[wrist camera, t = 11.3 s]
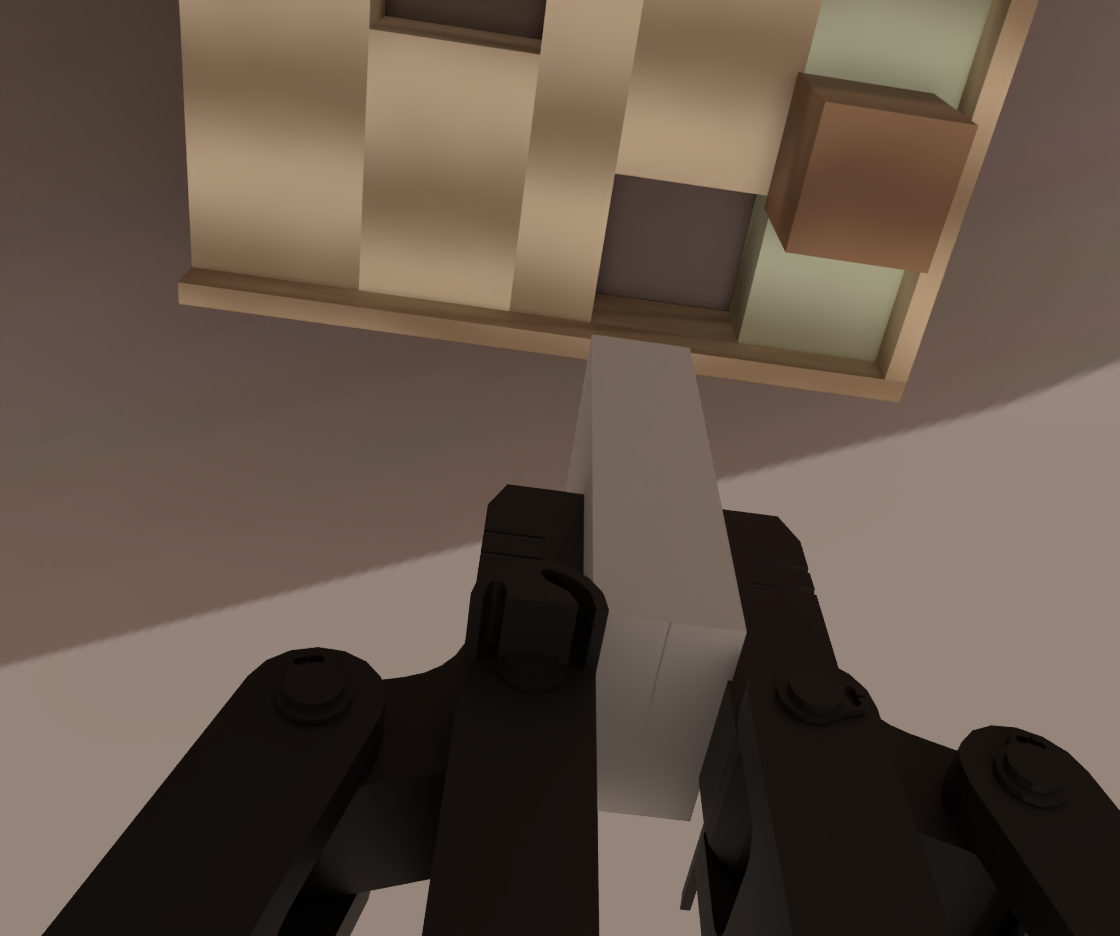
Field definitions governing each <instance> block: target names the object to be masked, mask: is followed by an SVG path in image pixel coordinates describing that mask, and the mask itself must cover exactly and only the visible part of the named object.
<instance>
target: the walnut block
mask: <svg viewBox="0 0 1120 936" xmlns="http://www.w3.org/2000/svg"><path fill="white" fill-rule="evenodd" d="M977 129H978V125H977V124H976V123H974V122H973V121H971V120H970V119H969V118H967V117H966V116H964V115H963V114H962V113H960V112H959V111H958V110H956V109H955V108H953V107H952V106H951V105H949V104H948V103H946V102H945V101H944V100H942V99H941V98H939V97H938V96H937V95H935V94H934V93H927V92H921V91H915V90H909V89H902V88H896V87H890V86H883V85H877V84H871V83H864V82H858V81H852V80H845V79H839V78H833V77H826V76H820V75H814V74H807V73H801V72H798V75H797V79H796V83H795V87H794V91H793V95H792V99H791V103H790V107H789V111H788V115H787V119H786V123H785V127H784V131H783V135H782V139H781V143H780V147H779V151H778V155H777V159H776V163H775V167H774V171H773V175H772V179H771V183H770V187H769V191H768V195H767V199H766V203H765V207H764V209H765V211H766V213H767V215H768V217H769V219H770V222H771V224H772V226H773V228H774V230H775V232H776V234H777V236H778V238H779V240H780V242H781V244H782V247H783V249H784V251H785V252H786V253H793V254H800V255H806V256H813V257H820V258H827V259H833V260H840V261H847V262H853V263H860V264H867V265H874V266H880V267H887V268H894V269H901V270H907V271H914V272H921V273H927V274H928V271H929V268H930V265H931V262H932V259H933V257H934V254H935V251H936V248H937V245H938V242H939V239H940V236H941V233H942V230H943V228H944V225H945V222H946V219H947V216H948V213H949V210H950V207H951V204H952V201H953V198H954V196H955V193H956V190H957V187H958V184H959V181H960V178H961V175H962V172H963V169H964V167H965V164H966V161H967V158H968V155H969V152H970V149H971V146H972V143H973V140H974V137H975V135H976V132H977Z"/></svg>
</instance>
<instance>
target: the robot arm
mask: <svg viewBox="0 0 1120 936" xmlns="http://www.w3.org/2000/svg"><path fill="white" fill-rule="evenodd" d="M814 590H815V589H814V586H813V582H812V579H811V576H810V573H808V566H807V563H806V559H805V556H804V552H803V549H802V546H801V543H800V541H799V540H798V539H797V537H796V536H795V535H794V534H793V533H792V532H791V531H790V530H789V529H788V527H787V526H786V525H785V524H784V523H783V522H782V521H781V520H780V519H779V517H777V516H770V515H761V514H754V513H746V512H739V511H731V510H724V509H722V506H721V501H720V496H719V491H718V486H717V481H716V476H715V471H714V466H713V461H712V456H711V451H710V446H709V441H708V436H707V431H706V426H705V421H704V416H703V411H702V406H701V401H700V396H699V391H698V386H697V381H696V376H695V371H694V366H693V361H692V356H691V351H690V348H688V347H681V346H674V345H666V344H659V343H652V342H644V341H637V340H630V339H623V338H615V337H608V336H601V335H593V334H592V335H591V341H590V347H589V353H588V359H587V365H586V371H585V377H584V383H583V389H582V395H581V401H580V407H579V413H578V419H577V425H576V431H575V437H574V443H573V449H572V455H571V461H570V467H569V473H568V479H567V485H566V492H563V491H555V490H547V489H540V488H532V487H524V486H516V485H509V484H507V485H506V486H505V487H504V489H503V490H502V491H501V492H500V493H499V494H498V495H497V496H496V497H495V498H494V499H493V500H492V501H491V502H490V503H489V504H488V508H487V515H486V522H485V528H484V535H483V541H482V548H481V555H480V562H479V568H478V574H477V581H476V584H475V586H474V588H473V590H472V592H471V597H470V606H469V614H468V624H467V631H466V640H465V644H464V645H463V646H462V648H461V649H460V650H459V651H458V653H457V654H456V655H455V656H454V657H453V658H451V659H450V660H448V661H447V662H446V663H444V664H443V665H441V666H439V667H437V668H434V669H432V670H430V671H427V672H425V673H421V674H416V675H412V676H407V677H400V678H393V679H384V680H382V679H381V677H380V676H379V675H378V674H377V672H376V671H375V670H374V669H373V668H372V667H371V666H370V665H369V664H368V663H367V662H366V661H364V660H362V659H360V658H358V657H356V656H353V655H351V654H349V653H347V652H345V651H339V650H334V649H326V648H320V647H315V648H307V649H299V650H291V651H288V652H285V653H283V654H281V655H278V656H276V657H273V658H271V659H268V660H266V661H265V662H264V663H262V664H261V665H260V666H259V667H258V668H257V669H255V670H254V671H253V672H252V673H251V674H249V675H248V676H247V678H246V679H245V680H244V681H243V683H242V684H241V685H240V687H239V688H238V689H237V690H236V691H235V693H234V694H233V695H232V697H231V698H230V699H229V700H228V702H227V703H226V704H225V705H224V707H223V708H222V709H221V710H220V712H219V713H218V714H217V715H216V717H215V718H214V719H213V720H212V722H211V723H210V724H209V726H208V727H207V728H206V729H205V731H204V732H203V733H202V734H201V736H200V737H199V738H198V739H197V741H196V742H195V743H194V744H193V746H192V747H191V748H190V749H189V751H188V752H187V753H186V754H185V756H184V757H183V758H182V760H181V761H180V762H179V763H178V765H177V766H176V767H175V768H174V770H173V771H172V772H171V773H170V775H169V776H168V777H167V779H166V780H165V781H164V782H163V784H162V785H161V786H160V787H159V788H158V790H157V791H156V792H155V793H154V795H153V796H152V797H151V799H150V800H149V801H148V802H147V804H146V805H145V806H144V807H143V809H142V810H141V811H140V812H139V814H138V815H137V816H136V817H135V819H134V820H133V821H132V822H131V824H130V825H129V826H128V827H127V829H126V830H125V831H124V833H123V834H122V835H121V836H120V838H119V839H118V840H117V842H116V843H115V844H114V845H113V846H112V848H111V849H110V850H109V851H108V853H107V854H106V855H105V856H104V858H103V859H102V860H101V861H100V863H99V864H98V865H97V867H96V868H95V869H94V870H93V872H92V873H91V874H90V875H89V877H88V878H87V879H86V880H85V882H84V883H83V884H82V885H81V887H80V888H79V889H78V890H77V892H76V893H75V894H74V895H73V897H72V898H71V899H70V901H69V902H68V903H67V904H66V906H65V907H64V908H63V909H62V911H61V912H60V913H59V915H58V916H57V917H56V918H55V920H54V921H53V922H52V923H51V925H50V926H49V927H48V928H47V930H46V931H45V932H44V933H43V935H42V936H350V935H351V932H352V931H353V929H354V927H355V925H356V923H357V921H358V919H359V916H360V915H361V912H362V911H363V908H364V907H365V904H366V903H367V901H368V898H369V894H370V891H371V890H376V889H381V888H387V887H392V886H397V885H402V884H407V883H412V882H417V881H422V880H428V879H430V885H429V892H428V898H427V905H426V912H425V918H424V925H423V933H422V936H599V891H598V890H599V888H598V812H597V811H605V812H613V813H622V814H631V815H640V816H648V817H657V818H666V819H675V820H684V821H690V819H691V816H692V813H693V809H694V806H695V803H696V799H697V796H698V792H699V789H700V794H701V802H702V811H703V819H704V824H703V827H702V831H701V834H700V837H699V840H698V843H697V847H696V850H695V853H694V856H693V859H692V862H691V866H690V869H689V872H688V876H687V879H686V882H685V885H684V888H683V892H682V899H681V906H680V909H681V910H690V909H691V906H692V903H693V900H694V897H695V894H696V891H697V895H698V905H699V915H700V925H701V935H702V936H1120V810H1119V809H1118V808H1117V807H1116V805H1115V804H1114V803H1113V802H1112V801H1111V799H1110V798H1109V797H1108V795H1107V794H1106V793H1105V792H1104V791H1103V789H1102V788H1101V787H1100V786H1099V784H1098V783H1097V782H1096V781H1095V780H1094V778H1093V777H1092V776H1091V775H1090V773H1089V772H1088V771H1087V770H1086V769H1085V768H1084V767H1083V766H1082V765H1081V764H1080V763H1078V761H1076V760H1075V759H1074V758H1073V757H1072V756H1071V755H1070V754H1069V753H1068V752H1067V751H1065V750H1063V749H1062V748H1060V747H1058V746H1057V745H1055V744H1053V743H1052V742H1050V741H1049V740H1047V739H1045V738H1044V737H1041V736H1039V735H1036V734H1033V733H1030V732H1027V731H1024V730H1021V729H1019V728H1015V727H1003V726H992V725H991V726H987V727H984V728H980V729H977V730H973V731H972V732H971V733H970V734H969V735H968V736H967V737H966V738H965V739H964V740H963V741H962V742H961V745H960V746H959V749H958V751H956V750H953V749H951V748H948V747H945V746H943V745H939V744H937V743H934V742H931V741H928V740H926V739H923V738H920V737H918V736H915V735H912V734H909V733H907V732H905V731H903V730H900V729H898V728H896V727H894V726H891V725H889V724H888V723H886V722H885V721H883V720H881V718H880V715H879V712H878V709H877V707H876V705H875V703H874V702H873V700H872V698H871V696H870V695H869V693H868V691H867V690H866V689H865V688H864V687H863V686H862V685H861V684H860V683H859V682H857V681H856V680H855V679H854V678H853V677H852V676H851V675H850V674H848V673H846V672H844V671H842V670H841V669H839V668H838V665H837V661H836V658H835V655H834V652H833V648H832V645H831V642H830V639H829V635H828V632H827V628H826V625H825V622H824V618H823V615H822V612H821V609H820V605H819V602H818V599H817V596H816V595H814Z"/></svg>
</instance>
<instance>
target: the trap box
mask: <svg viewBox="0 0 1120 936" xmlns="http://www.w3.org/2000/svg"><path fill="white" fill-rule="evenodd" d="M1038 2H1039V0H547V2H546V11H545V19H544V27H543V35H542V40H541V39H534V38H528V37H521V36H515V35H508V34H501V33H495V32H488V31H482V30H475V29H468V28H462V27H455V26H449V25H442V24H435V23H429V22H422V21H416V20H409V19H403V18H396V17H389V16H385V7H386V0H179V7H180V28H181V49H182V69H183V90H184V111H185V131H186V152H187V172H188V193H189V214H190V234H191V255H192V268H191V269H190V270H189V271H188V272H187V273H186V274H185V275H184V276H183V277H182V278H181V280H180V281H179V282H178V294H179V304H185V305H192V306H199V307H207V308H214V309H221V310H229V311H236V312H243V313H251V314H258V315H265V316H273V317H280V318H287V319H295V320H302V321H309V322H316V323H324V324H331V325H338V326H346V327H353V328H360V329H368V330H375V331H382V332H390V333H397V334H404V335H412V336H419V337H426V338H434V339H441V340H448V341H455V342H463V343H470V344H477V345H485V346H492V347H499V348H507V349H514V350H521V351H529V352H536V353H543V354H551V355H558V356H565V357H573V358H580V359H588V353H589V347H590V341H591V335H592V334H593V335H601V336H608V337H615V338H623V339H630V340H637V341H644V342H652V343H659V344H666V345H674V346H681V347H688V348H690V351H691V356H692V361H693V366H694V371H695V374H697V375H704V376H712V377H719V378H726V379H733V380H741V381H748V382H755V383H763V384H770V385H777V386H785V387H792V388H799V389H807V390H814V391H821V392H829V393H836V394H843V395H851V396H858V397H865V398H873V399H880V400H887V401H894V402H900V400H901V397H902V394H903V391H904V388H905V385H906V383H907V380H908V377H909V374H910V371H911V368H912V365H913V362H914V359H915V357H916V354H917V351H918V348H919V345H920V342H921V339H922V336H923V334H924V331H925V328H926V325H927V322H928V319H929V316H930V313H931V310H932V308H933V305H934V302H935V299H936V296H937V293H938V290H939V287H940V285H941V282H942V279H943V276H944V273H945V270H946V267H947V264H948V261H949V259H950V256H951V253H952V250H953V247H954V244H955V241H956V238H957V236H958V233H959V230H960V227H961V224H962V221H963V218H964V215H965V212H966V210H967V207H968V204H969V201H970V198H971V195H972V192H973V189H974V187H975V184H976V181H977V178H978V175H979V172H980V169H981V166H982V163H983V161H984V158H985V155H986V152H987V149H988V146H989V143H990V140H991V138H992V135H993V132H994V129H995V126H996V123H997V120H998V117H999V114H1000V112H1001V109H1002V106H1003V103H1004V100H1005V97H1006V94H1007V91H1008V89H1009V86H1010V83H1011V80H1012V77H1013V74H1014V71H1015V68H1016V65H1017V63H1018V60H1019V57H1020V54H1021V51H1022V48H1023V45H1024V42H1025V40H1026V37H1027V34H1028V31H1029V28H1030V25H1031V22H1032V19H1033V16H1034V14H1035V11H1036V8H1037V5H1038ZM798 72H801V73H807V74H814V75H820V76H826V77H833V78H839V79H845V80H852V81H858V82H864V83H871V84H877V85H883V86H890V87H896V88H902V89H909V90H915V91H921V92H927V93H934V94H935V95H937V96H938V97H939V98H941V99H942V100H944V101H945V102H946V103H948V104H949V105H951V106H952V107H953V108H955V109H956V110H958V111H959V112H960V113H962V114H963V115H964V116H966V117H967V118H969V119H970V120H971V121H973V122H974V123H976V124H977V125H978V129H977V132H976V135H975V137H974V140H973V143H972V146H971V149H970V152H969V155H968V158H967V161H966V164H965V167H964V169H963V172H962V175H961V178H960V181H959V184H958V187H957V190H956V193H955V196H954V198H953V201H952V204H951V207H950V210H949V213H948V216H947V219H946V222H945V225H944V228H943V230H942V233H941V236H940V239H939V242H938V245H937V248H936V251H935V254H934V257H933V259H932V262H931V265H930V268H929V271H928V274H927V273H921V272H914V271H907V270H901V269H894V268H887V267H880V266H874V265H867V264H860V263H853V262H847V261H840V260H833V259H827V258H820V257H813V256H806V255H800V254H793V253H786V252H785V251H784V249H783V247H782V244H781V242H780V240H779V238H778V236H777V234H776V232H775V230H774V228H773V226H772V224H771V222H770V219H769V217H768V215H767V213H766V211H765V209H764V207H765V203H766V199H767V195H768V191H769V187H770V183H771V179H772V175H773V171H774V167H775V163H776V159H777V155H778V151H779V147H780V143H781V139H782V135H783V131H784V127H785V123H786V119H787V115H788V111H789V107H790V103H791V99H792V95H793V91H794V87H795V83H796V79H797V75H798ZM615 174H622V175H629V176H636V177H642V178H649V179H656V180H663V181H670V182H677V183H684V184H691V185H697V186H704V187H711V188H718V189H725V190H732V191H739V192H745V193H752V194H756V198H755V202H754V206H753V210H752V214H751V219H750V223H749V227H748V231H747V235H746V240H745V244H744V248H743V252H742V256H741V261H740V265H739V269H738V273H737V277H736V282H735V286H734V290H733V294H732V298H731V303H730V307H729V311H721V310H714V309H707V308H699V307H692V306H685V305H678V304H671V303H664V302H657V301H649V300H642V299H635V298H628V297H621V296H614V295H607V294H599V293H595V292H596V286H597V280H598V274H599V268H600V262H601V256H602V249H603V243H604V237H605V231H606V225H607V219H608V213H609V207H610V201H611V195H612V189H613V183H614V177H615Z"/></svg>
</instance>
